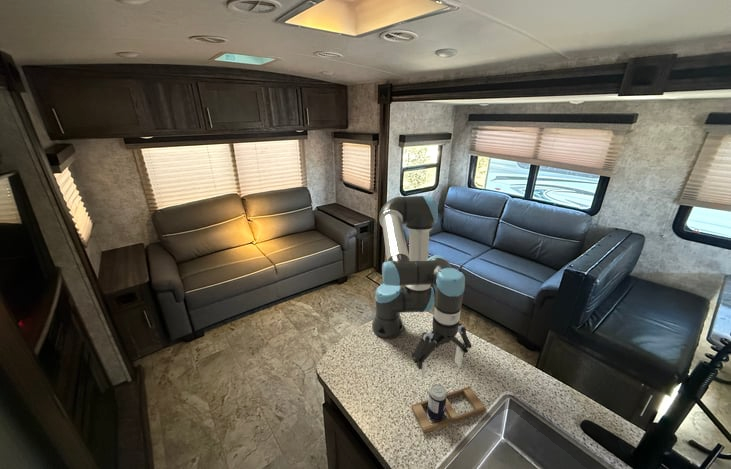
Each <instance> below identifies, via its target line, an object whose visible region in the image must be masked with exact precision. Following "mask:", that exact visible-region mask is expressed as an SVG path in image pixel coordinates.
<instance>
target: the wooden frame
mask: <svg viewBox="0 0 731 469" xmlns="http://www.w3.org/2000/svg"><path fill="white" fill-rule="evenodd" d="M462 395H463V396H464V398H465V399H466V401H467V402H468V404H469V405H470V407H471V408H472V409H473V410H471V411H468V412H465V413H461V414H460V415H458V413H457V412H456V410H455V409H454V407H453V406H452V404H451V402H450V401H449V399H452V398H455V397H459V396H462ZM428 400H429V399H427V400H424V401H421V402H420V401H419V402H417V403H414V404H411V408H410V409H411V411H412V413H413V415H414V418H415V419H416V421H417V424H418V425H419V428H420V430H421V432H422V434H423V435H424V434H428V433H430V432H434V431H436V430H439V429H441V428H445V427H447V426H450V425H453V424H456V423H458V422H462V421H464V420H467V419H470V418H472V417H475V416H478V415H481V414H484V413H486V410H487V407H486V406H485V405H484V404H483V402H482V401H481V399H480V398H479V397H478V395H477V394H476V393H475V392H474V390H473V388H472V387H471V386H467V387H464V388H461V389H457V390H454V391H452V392H449V393H447V398H446V406H445V414H446V416H447V419H445V420H443V421H442V420H441V421H438V422H436V423H431V421H430V419H429V416H428V414H426V411H425V409H424V408H425V407H428Z"/></svg>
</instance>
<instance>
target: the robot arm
mask: <svg viewBox="0 0 731 469" xmlns="http://www.w3.org/2000/svg"><path fill="white" fill-rule="evenodd" d="M378 219H379V224H380V226H381V227H382V232H383V239H384V240H383V241H384V247H385V248H384V249H385V255H386V261H384V262H382V265H381V266H382V267H381V270H382V271H381V273H382V274H381V276H382V282H383V283H382V284H380V285H379V286H378V287H377V288H376V290H375V296H374V299H375V315H374V317H373V318H372V319H373V320H372V323H371V329H372V331H373V333H374V334H375V335H376V336H377V337H379V338H382V339H395V338H398V337H399V336H400V335H401V334H402V333H403V331H404V323H403V319H402V318H401V313H424V312H426V313H427V312H430V311H431V310H432V309H433V312H432V315H433V316H432V325H431V326H432V331H431V333H427V332H426V331H425V332H423V333H422V335H421V339H420V341H419V342H418V344H417V346H416V347H415V349H414V351H413V352H412V353H411V359H412V361H413V362H414V363H415V364H416V366H417V369H418V370H417V371H418V374H419V376H420V377H421V378H422V379H423V378H425V372H426V360H427V358H428V357H429V356H430V355H431V354H432V353H433V351H434V350H435V349H438V348H439V347H440V346H441V345H442V346H443V345H444V344H450V342H452V343H454V344H455V345H456V350H455V355H454V356H455V357H454V362H455V364H456V366H458V367H459V368H461V367H462V363H463V358H464V357H465V354H467V353H468V352H469V350H468V349H471V348H473V347H472V344H471V341H470V339H469V337H468V334H467V329H466V327H465V326H464V325H463V324H462V323H461V322H460V320H461V319H460V317H461V311H462V304H463V298H464V292H465V289H466V288H465V287H466V283H465V282H466V277H465V275H464V272H461V271H459V269H457V268H453V267H452V265H451V263H450V262H449V260H447V259H446V258H445V256H443V255H440V254H434V255H432V256H430V257H429V249H430V248H429V246H430V243H429V242H430V232H431V231H432V230H433V228H434V224H437V223H438V220H439V212H438V204H437V202H436V200H435V198H434V197H432V196H429V195H413V196H411V195H410V196H396V197H393V198H391V199H390V200H388V201H387V202H386V203H385V204H384V205H383V206H382V207H381V210H380V211H379V216H378ZM403 225H405V229H407V230H408V231H409V234H408V235H409V236H408V237H409V238H408V239H409V242H408V243H409V244H408V245H407V241H406V238H405V232H404V228H403ZM408 246H409V247H408ZM431 285H432V286H431ZM401 286H402V287H401ZM458 333H459V336H460V337H461V339H462V341H463V343H462V342H461V341H460V339H458V338H457V337H456V336H457V334H458Z"/></svg>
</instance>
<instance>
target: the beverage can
mask: <svg viewBox="0 0 731 469" xmlns="http://www.w3.org/2000/svg"><path fill="white" fill-rule="evenodd" d="M428 392H429V393H428V399H427V400H428V406H427V410H426V412H427V417H428V418H430V419H431V420H432V421H435V422H441V421H442V420H443V419H444V417H445V414H446V412H445V406H446V398H447V394H448V393H447V391H446V388H445V387H444V385H441V384H440V383H439V384H438V383H435V384H433V385H432V386H431V387H430V389H429V391H428Z"/></svg>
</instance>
